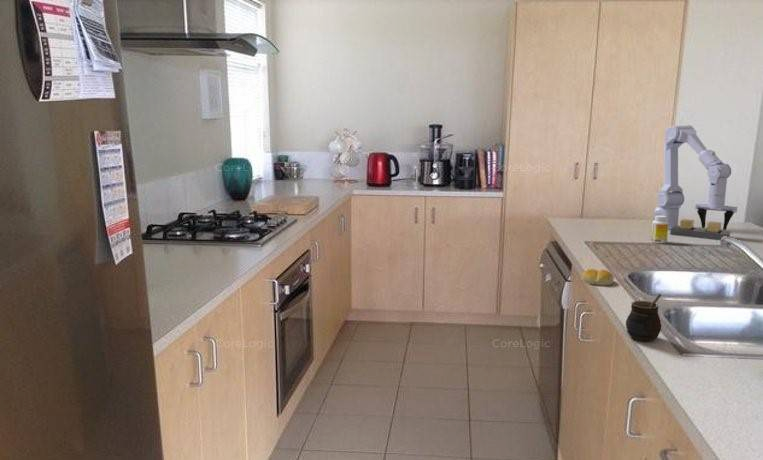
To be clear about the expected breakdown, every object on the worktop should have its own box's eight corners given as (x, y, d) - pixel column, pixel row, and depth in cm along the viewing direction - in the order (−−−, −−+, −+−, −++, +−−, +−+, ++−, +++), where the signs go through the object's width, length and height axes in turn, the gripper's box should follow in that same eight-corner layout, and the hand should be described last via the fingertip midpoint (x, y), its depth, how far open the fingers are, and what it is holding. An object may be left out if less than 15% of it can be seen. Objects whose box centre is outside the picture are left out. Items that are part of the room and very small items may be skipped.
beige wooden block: (679, 234, 244) (680, 220, 243) (682, 233, 247) (683, 219, 246) (690, 235, 241) (691, 221, 240) (692, 234, 244) (693, 220, 243)
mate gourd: (617, 335, 135) (620, 293, 134) (641, 330, 139) (644, 288, 137) (643, 346, 129) (646, 302, 127) (668, 340, 132) (671, 297, 130)
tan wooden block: (706, 237, 237) (707, 223, 236) (708, 236, 240) (710, 221, 239) (717, 239, 235) (718, 224, 234) (719, 237, 238) (721, 222, 236)
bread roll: (584, 277, 184) (585, 264, 183) (615, 281, 180) (615, 268, 179) (578, 283, 177) (578, 270, 176) (609, 288, 173) (610, 274, 172)
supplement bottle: (670, 242, 229) (672, 216, 227) (658, 244, 227) (660, 217, 225) (658, 240, 234) (660, 214, 232) (647, 241, 232) (649, 215, 230)
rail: (670, 234, 245) (670, 228, 244) (676, 231, 250) (676, 225, 250) (724, 240, 231) (725, 234, 231) (729, 237, 237) (730, 231, 237)
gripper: (694, 194, 236) (691, 227, 239) (735, 197, 227) (732, 232, 229) (699, 192, 241) (696, 225, 244) (739, 195, 232) (736, 229, 235)
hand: (713, 228), depth 237 cm, fingers open, 7 cm apart
